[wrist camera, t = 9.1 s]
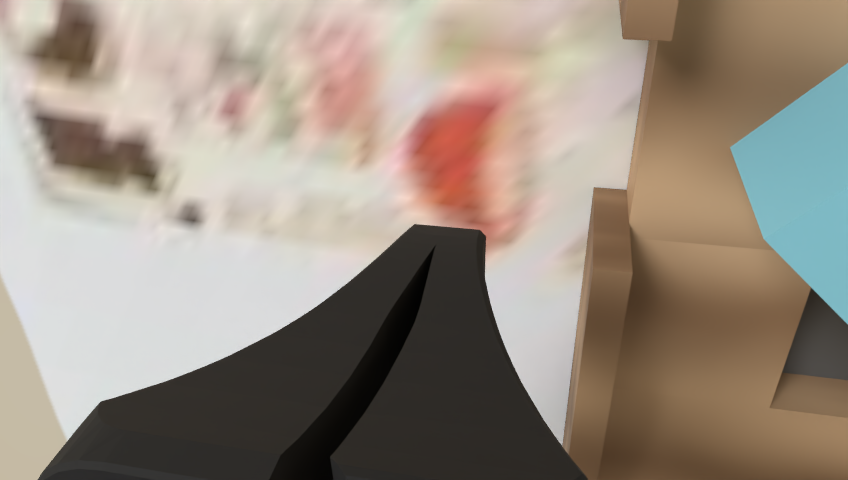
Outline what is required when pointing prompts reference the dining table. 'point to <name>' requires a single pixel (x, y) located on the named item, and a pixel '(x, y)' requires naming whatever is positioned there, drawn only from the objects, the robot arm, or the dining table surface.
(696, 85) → the tray
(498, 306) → the dining table surface
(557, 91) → the dining table surface
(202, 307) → the dining table surface
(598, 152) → the dining table surface
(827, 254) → the block
